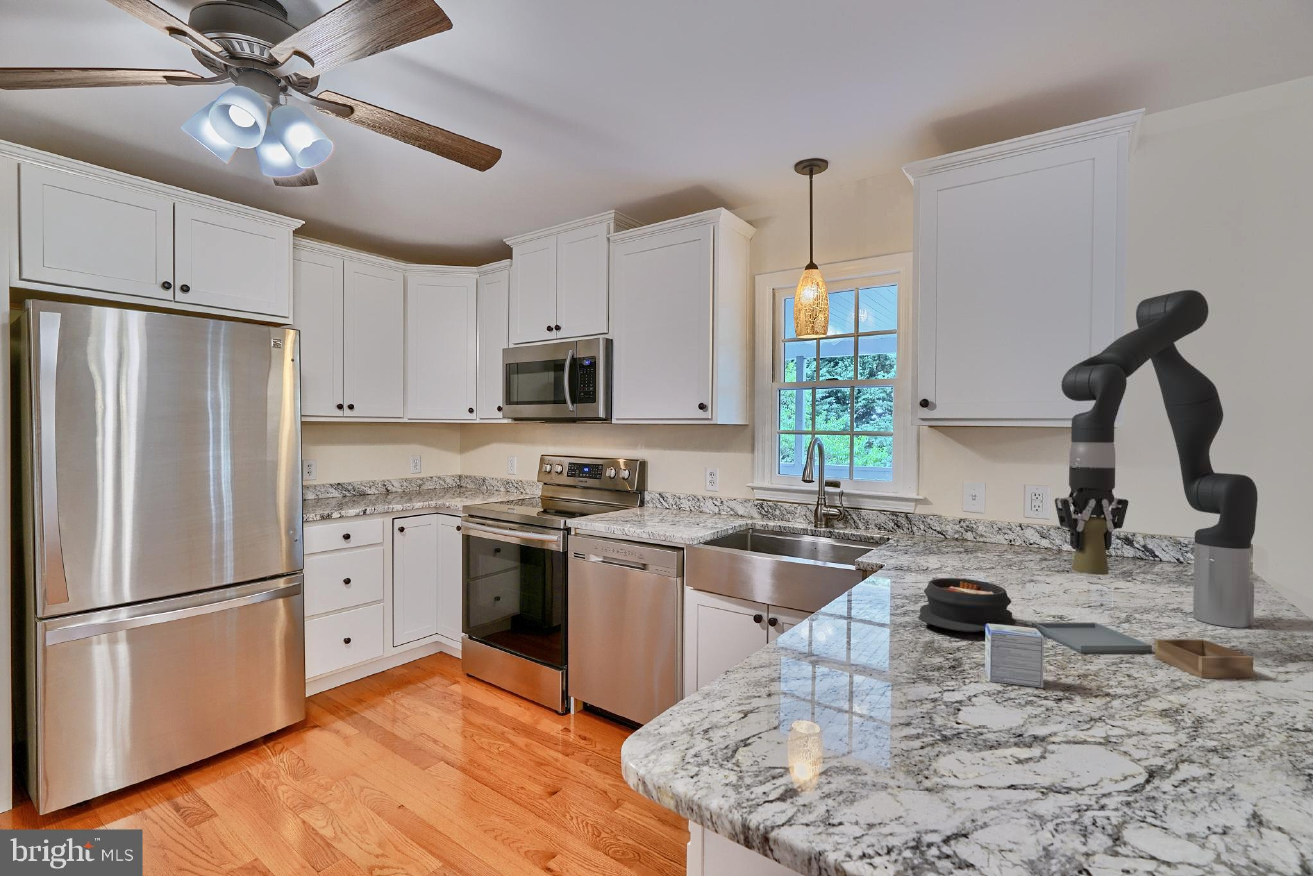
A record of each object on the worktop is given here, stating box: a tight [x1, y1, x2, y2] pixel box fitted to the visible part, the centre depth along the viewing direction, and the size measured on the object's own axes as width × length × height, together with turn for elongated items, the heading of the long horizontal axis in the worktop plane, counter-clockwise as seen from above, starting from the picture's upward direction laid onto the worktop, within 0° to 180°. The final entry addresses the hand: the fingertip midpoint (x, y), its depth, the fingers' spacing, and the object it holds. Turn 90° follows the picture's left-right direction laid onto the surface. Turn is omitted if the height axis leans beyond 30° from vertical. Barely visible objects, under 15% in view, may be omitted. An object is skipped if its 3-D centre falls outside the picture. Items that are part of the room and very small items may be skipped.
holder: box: [1154, 638, 1254, 679], centre depth 108 cm, size 9×9×4 cm
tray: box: [1031, 621, 1153, 655], centre depth 122 cm, size 14×14×2 cm
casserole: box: [918, 577, 1016, 633], centre depth 132 cm, size 25×19×8 cm
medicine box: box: [984, 624, 1045, 688], centre depth 101 cm, size 8×4×9 cm, turn 71°
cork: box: [1071, 516, 1109, 576], centre depth 121 cm, size 6×6×11 cm
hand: (1090, 549), depth 122 cm, fingers closed on cork, 5 cm apart
